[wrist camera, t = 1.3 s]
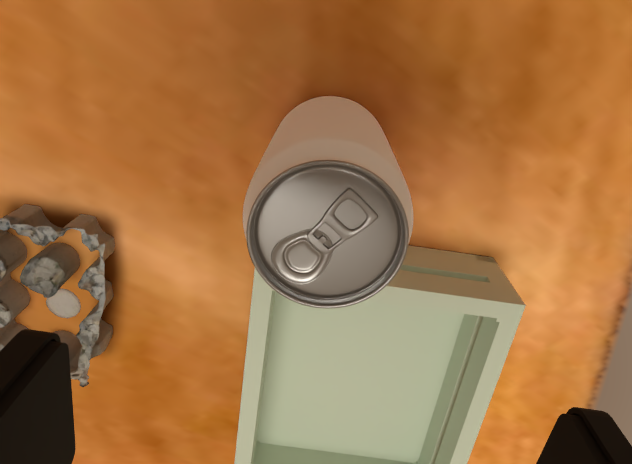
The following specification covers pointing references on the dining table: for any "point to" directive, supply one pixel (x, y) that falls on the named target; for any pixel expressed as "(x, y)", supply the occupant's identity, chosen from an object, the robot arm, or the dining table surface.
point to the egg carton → (55, 281)
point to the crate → (378, 367)
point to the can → (328, 206)
